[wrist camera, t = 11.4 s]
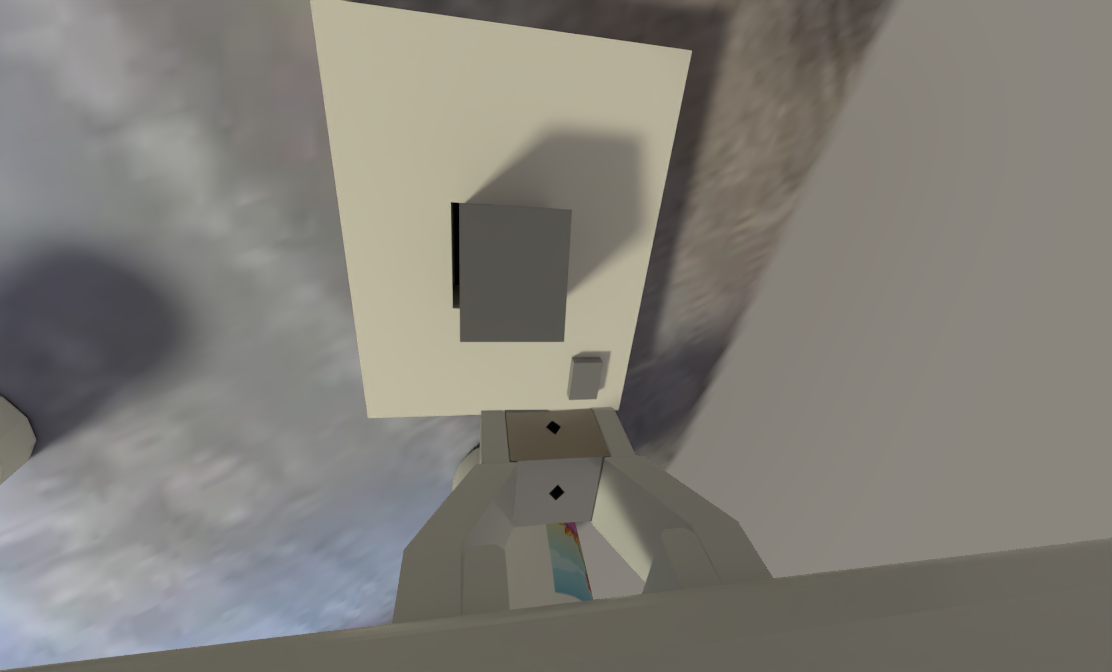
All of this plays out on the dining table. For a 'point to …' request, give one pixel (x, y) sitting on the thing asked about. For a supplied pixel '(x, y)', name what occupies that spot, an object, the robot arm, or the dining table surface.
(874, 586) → the robot arm
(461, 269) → the plug
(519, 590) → the milk bottle
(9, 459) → the white cup
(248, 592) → the dining table surface
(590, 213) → the socket
